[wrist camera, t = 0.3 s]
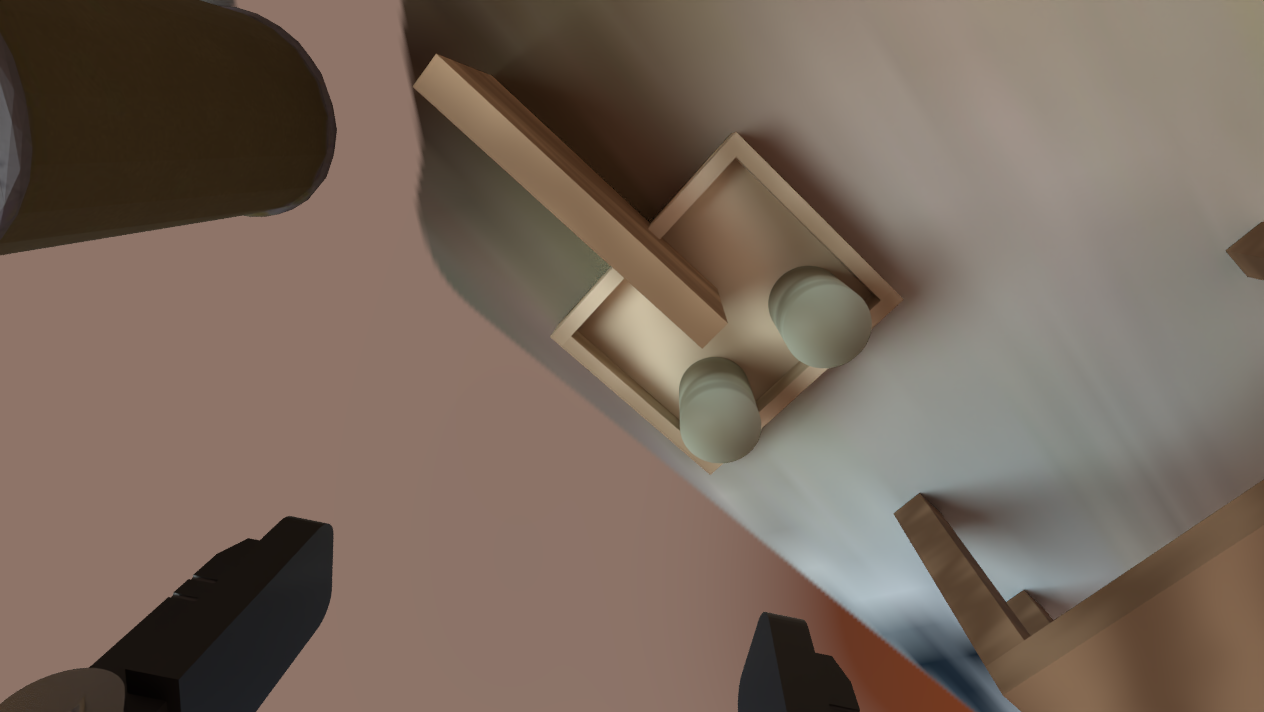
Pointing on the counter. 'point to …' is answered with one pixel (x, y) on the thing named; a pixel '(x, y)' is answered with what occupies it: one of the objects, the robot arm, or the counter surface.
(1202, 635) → the wooden rack
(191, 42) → the canister
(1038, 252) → the counter surface
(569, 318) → the tray
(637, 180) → the counter surface
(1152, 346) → the counter surface
